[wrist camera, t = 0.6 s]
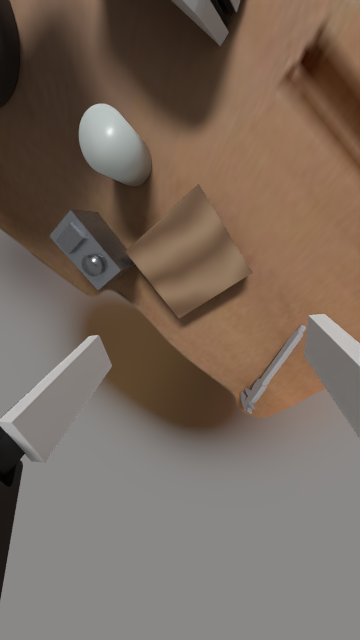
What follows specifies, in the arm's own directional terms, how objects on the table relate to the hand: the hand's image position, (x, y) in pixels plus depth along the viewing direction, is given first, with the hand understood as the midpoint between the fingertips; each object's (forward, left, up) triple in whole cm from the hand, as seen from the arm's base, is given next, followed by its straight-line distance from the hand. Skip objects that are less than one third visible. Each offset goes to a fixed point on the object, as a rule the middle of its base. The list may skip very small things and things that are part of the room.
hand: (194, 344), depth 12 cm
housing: (-13, -12, -24) cm, 30 cm away
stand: (-3, -1, -24) cm, 24 cm away
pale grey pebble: (-19, 0, -24) cm, 31 cm away
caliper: (+24, -1, -24) cm, 34 cm away
